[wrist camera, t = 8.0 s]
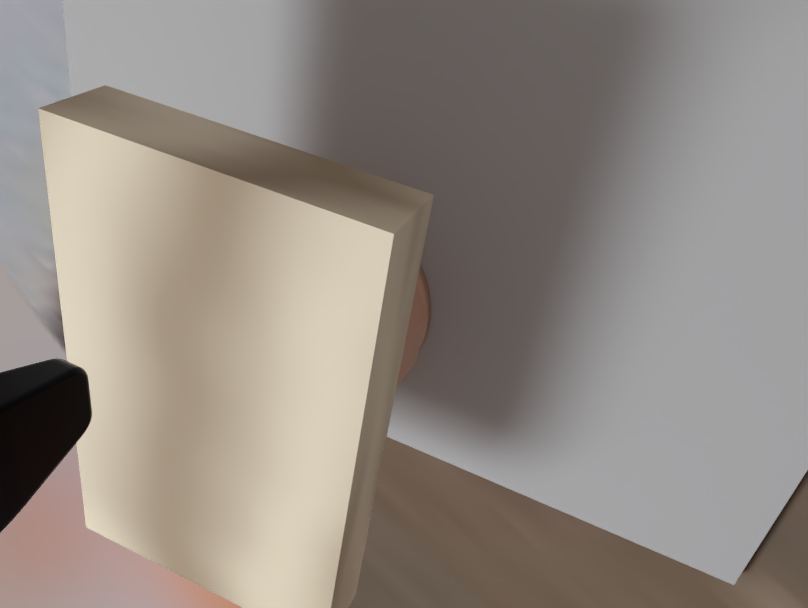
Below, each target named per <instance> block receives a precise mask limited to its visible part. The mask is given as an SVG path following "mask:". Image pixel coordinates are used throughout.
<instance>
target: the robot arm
mask: <svg viewBox="0 0 808 608" xmlns="http://www.w3.org/2000/svg"><path fill="white" fill-rule="evenodd" d="M91 418H92V407H91V398H90V390H89V381H88V375H87V373H86V372H85V370H84V369H83V368H81V367H79V366H77V365H74V364H72V363H70V362H68V361H66V360H63V359H51V360H47V361H43V362H39V363H35V364H31V365H28V366H24V367H20V368H16V369H12V370H9V371H5V372H1V373H0V532H1V531H2V530H3V529H4V528H5V527H6V526H7V525H8V524H9V523H10V522H11V521H12V519H14V517H15V516H16V515H17V514H18V513H19V512H20V511H21V509H22V508H23V507H24V506H25V505H26V504H27V502H28V501H29V500H30V499H31V497H32V496H33V495H34V494H35V493H36V491H37V490H38V489H39V488H40V486H41V485H42V484H43V483H44V482H45V480H46V479H47V478H48V477H49V476H50V474H51V473H52V472H53V471H54V469H55V468H56V467H57V466H58V465H59V463H60V462H61V461H62V460H63V458H64V457H65V456H66V455H67V454H68V452H69V451H70V450H71V449H72V448H73V446H74V445H75V444H76V443H77V441H78V440H79V439H80V438H81V437H82V435H83V434H84V433H85V431H86V430H87V428H88V426H89V424H90V422H91Z"/></svg>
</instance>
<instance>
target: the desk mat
mask: <svg viewBox="0 0 808 608" xmlns="http://www.w3.org/2000/svg"><path fill="white" fill-rule="evenodd" d="M62 4H63V15H64V27H65V38H66V49H67V61H68V72H69V84H70V95H71V97H72V96H75V95H78V94H81V93H84V92H87V91H90V90H93V89H95V88H98V87H101V86H104V85H106V86H109V87H112V88H115V89H118V90H121V91H124V92H127V93H130V94H133V95H136V96H139V97H142V98H145V99H148V100H151V101H154V102H157V103H160V104H163V105H166V106H169V107H172V108H175V109H178V110H181V111H184V112H187V113H190V114H193V115H196V116H199V117H202V118H205V119H208V120H211V121H214V122H217V123H220V124H223V125H226V126H229V127H232V128H235V129H238V130H241V131H244V132H247V133H250V134H253V135H256V136H259V137H262V138H265V139H268V140H271V141H274V142H277V143H280V144H283V145H286V146H289V147H292V148H295V149H298V150H301V151H304V152H307V153H310V154H313V155H316V156H319V157H322V158H325V159H328V160H331V161H334V162H337V163H340V164H343V165H346V166H349V167H352V168H355V169H358V170H361V171H364V172H367V173H370V174H373V175H376V176H379V177H382V178H385V179H388V180H391V181H394V182H397V183H400V184H403V185H406V186H409V187H412V188H415V189H418V190H421V191H424V192H427V193H430V194H433V195H434V197H433V202H432V208H431V213H430V218H429V223H428V228H427V233H426V238H425V243H424V248H423V254H422V259H421V266H422V269H423V271H424V274H425V276H426V280H427V283H428V287H429V291H430V298H431V320H430V327H429V330H428V334H427V337H426V339H425V341H424V343H423V345H422V347H421V349H420V350H419V352H418V356H417V361H416V362H415V363H414V365H413V366H412V368H411V369H410V370H409V372H408V373H407V375H406V376H405V377H404V379H403V380H402V381H401V383H400V384H399V386H398V387H397V388H396V392H395V397H394V402H393V407H392V412H391V417H390V422H389V427H388V432H387V437H389V438H392V439H394V440H396V441H399V442H401V443H403V444H406V445H408V446H410V447H413V448H415V449H417V450H420V451H422V452H424V453H427V454H429V455H431V456H434V457H436V458H438V459H441V460H443V461H445V462H448V463H450V464H452V465H455V466H457V467H459V468H462V469H464V470H466V471H469V472H471V473H473V474H476V475H478V476H480V477H483V478H485V479H487V480H490V481H492V482H494V483H497V484H499V485H501V486H504V487H506V488H508V489H511V490H513V491H515V492H518V493H520V494H522V495H525V496H527V497H529V498H532V499H534V500H536V501H539V502H541V503H543V504H546V505H548V506H550V507H553V508H555V509H557V510H560V511H562V512H564V513H567V514H569V515H572V516H574V517H576V518H579V519H581V520H583V521H586V522H588V523H590V524H593V525H595V526H597V527H600V528H602V529H604V530H607V531H609V532H611V533H614V534H616V535H618V536H621V537H623V538H625V539H628V540H630V541H632V542H635V543H637V544H639V545H642V546H644V547H646V548H649V549H651V550H653V551H656V552H658V553H660V554H663V555H665V556H667V557H670V558H672V559H674V560H677V561H679V562H681V563H684V564H686V565H688V566H691V567H693V568H695V569H698V570H700V571H702V572H705V573H707V574H709V575H712V576H714V577H716V578H719V579H721V580H723V581H726V582H728V583H730V584H733V585H734V584H735V583H736V581H737V579H738V578H739V576H740V575H741V573H742V572H743V570H744V568H745V567H746V565H747V564H748V562H749V561H750V559H751V558H752V556H753V554H754V553H755V551H756V550H757V548H758V547H759V545H760V544H761V542H762V540H763V539H764V537H765V536H766V534H767V533H768V531H769V529H770V528H771V526H772V525H773V523H774V522H775V520H776V519H777V517H778V515H779V514H780V512H781V511H782V509H783V508H784V506H785V505H786V503H787V501H788V500H789V498H790V497H791V495H792V494H793V492H794V490H795V489H796V487H797V486H798V484H799V483H800V481H801V480H802V478H803V476H804V475H805V473H806V472H807V470H808V0H62Z"/></svg>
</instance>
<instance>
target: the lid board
mask: <svg viewBox="0 0 808 608" xmlns="http://www.w3.org/2000/svg"><path fill="white" fill-rule="evenodd" d="M38 111H39V120H40V128H41V137H42V146H43V154H44V163H45V172H46V181H47V189H48V198H49V207H50V216H51V224H52V233H53V242H54V250H55V259H56V268H57V277H58V285H59V294H60V303H61V312H62V320H63V329H64V338H65V346H66V355H67V361H68V362H70V363H72V364H74V365H77V366H79V367H81V368H83V369H84V370H85V372H86V373H87V375H88V381H89V390H90V398H91V407H92V418H91V422H90V424H89V426H88V428H87V430H86V431H85V433H84V434H83V435H82V437H81V438H80V439H79V440H78V441H77V451H78V460H79V468H80V476H81V486H82V495H83V503H84V512H85V520H86V527H87V528H89V529H91V530H93V531H95V532H97V533H98V534H101V535H102V536H104V537H106V538H108V539H110V540H112V541H114V542H116V543H118V544H120V545H122V546H124V547H126V548H128V549H130V550H132V551H134V552H135V553H137V554H140V555H141V556H143V557H145V558H147V559H149V560H151V561H153V562H155V563H157V564H159V565H161V566H163V567H165V568H167V569H169V570H170V571H172V572H174V573H177V574H179V575H180V576H182V577H184V578H186V579H188V580H190V581H192V582H194V583H196V584H198V585H200V586H202V587H204V588H205V589H207V590H210V591H211V592H213V593H215V594H217V595H219V596H221V597H223V598H225V599H227V600H229V601H231V602H233V603H235V604H237V605H239V606H241V607H243V608H348V607H349V605H350V604H351V602H352V600H353V598H354V597H355V595H356V591H357V586H358V581H359V576H360V570H361V565H362V560H363V555H364V550H365V545H366V540H367V535H368V530H369V524H370V519H371V514H372V509H373V504H374V499H375V494H376V489H377V484H378V478H379V473H380V468H381V463H382V458H383V453H384V448H385V443H386V438H387V432H388V427H389V422H390V417H391V412H392V407H393V402H394V397H395V392H396V386H397V381H398V376H399V371H400V366H401V361H402V356H403V351H404V346H405V340H406V335H407V330H408V325H409V320H410V315H411V310H412V305H413V300H414V294H415V289H416V284H417V279H418V274H419V269H420V264H421V259H422V254H423V248H424V243H425V238H426V233H427V228H428V223H429V218H430V213H431V208H432V202H433V197H434V195H433V194H430V193H427V192H424V191H421V190H418V189H415V188H412V187H409V186H406V185H403V184H400V183H397V182H394V181H391V180H388V179H385V178H382V177H379V176H376V175H373V174H370V173H367V172H364V171H361V170H358V169H355V168H352V167H349V166H346V165H343V164H340V163H337V162H334V161H331V160H328V159H325V158H322V157H319V156H316V155H313V154H310V153H307V152H304V151H301V150H298V149H295V148H292V147H289V146H286V145H283V144H280V143H277V142H274V141H271V140H268V139H265V138H262V137H259V136H256V135H253V134H250V133H247V132H244V131H241V130H238V129H235V128H232V127H229V126H226V125H223V124H220V123H217V122H214V121H211V120H208V119H205V118H202V117H199V116H196V115H193V114H190V113H187V112H184V111H181V110H178V109H175V108H172V107H169V106H166V105H163V104H160V103H157V102H154V101H151V100H148V99H145V98H142V97H139V96H136V95H133V94H130V93H127V92H124V91H121V90H118V89H115V88H112V87H109V86H106V85H104V86H101V87H98V88H95V89H93V90H90V91H87V92H84V93H81V94H78V95H75V96H72V97H70V98H67V99H64V100H61V101H58V102H55V103H52V104H49V105H47V106H44V107H41V108H38Z"/></svg>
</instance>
